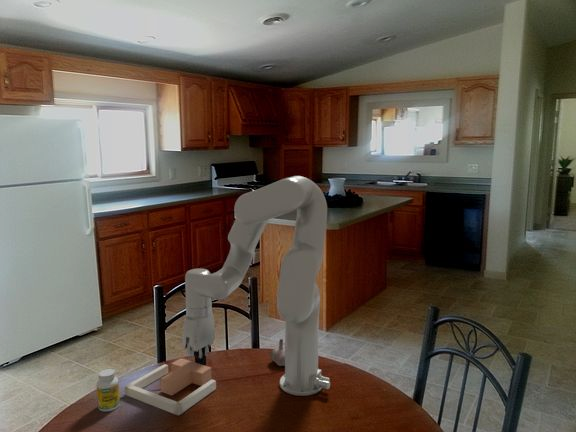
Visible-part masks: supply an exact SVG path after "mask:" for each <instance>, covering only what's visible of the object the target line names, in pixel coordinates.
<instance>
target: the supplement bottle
mask: <svg viewBox="0 0 576 432" xmlns="http://www.w3.org/2000/svg"><path fill="white" fill-rule="evenodd" d="M119 382H120V381H119V379H118V377H116V370H115V369H113V368H112V369H111V368H108V369H107V368H106V369H103V370H101V371H99V373H98V381H97V382H96V395H97V408H98V409H99V411H101V412H111V411H115V410H116V409H117V408H119V406H120V404H121V401H120V397H121V396H120V386H119V385H120V384H119Z"/></svg>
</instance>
